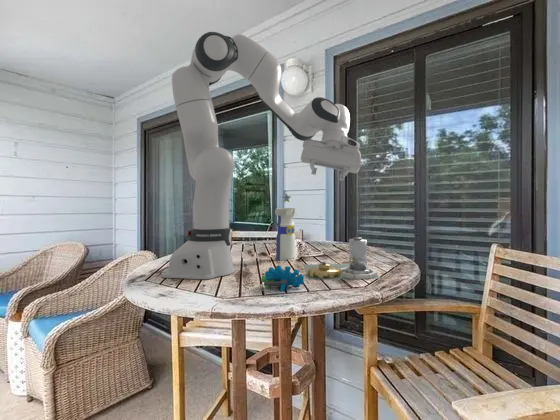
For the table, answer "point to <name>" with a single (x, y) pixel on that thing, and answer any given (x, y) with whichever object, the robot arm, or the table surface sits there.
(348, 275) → the seat ring
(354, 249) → the grey cylindrical peg
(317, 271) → the brass gear
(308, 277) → the gear board
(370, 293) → the table surface
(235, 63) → the robot arm
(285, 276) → the gear
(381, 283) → the table surface
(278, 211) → the white piece
